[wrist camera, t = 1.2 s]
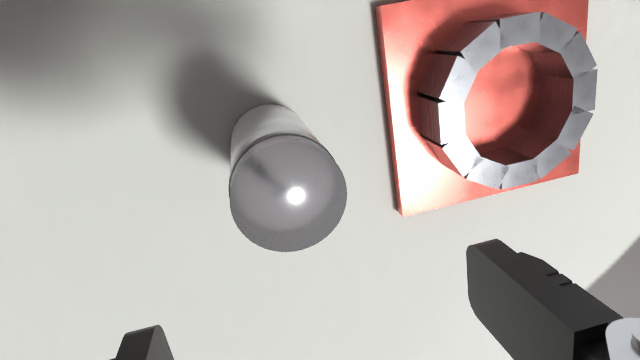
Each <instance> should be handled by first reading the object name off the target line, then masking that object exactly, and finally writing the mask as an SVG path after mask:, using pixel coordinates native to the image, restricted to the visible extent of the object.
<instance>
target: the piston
mask: <svg viewBox="0 0 640 360" xmlns="http://www.w3.org/2000/svg"><path fill="white" fill-rule="evenodd" d="M229 198H230V208H231V213H232V216H233V219H234V221H235V223H236V225H237V227H238V228H239V229H240V231H241V232H242V233H243V234H244V235H245V236H246V237H247V238H248V239H249V240H250V241H252V242H253V243H255V244H257V245H258V246H261V247H263V248H265V249H269V250H272V251H278V252H292V251H298V250H302V249H305V248H308V247H311V246H313V245H315V244H317V243H318V242H320V241H322V240H323V239H324V238H325V237H327V236H328V235H329V234H330V233H331V232H332V231H333V230H334V228H335V227H336V226H337V224H338V223H339V221H340V219H341V217H342V215H343V213H344V209H345V206H346V201H347V188H346V183H345V179H344V176H343V173H342V171H341V170H340V168H339V166H338V165H337V164H336V162H335V160H334V158H333V157H332V156H331V154H330V153H329V152H328V150H327V149H326V148H325V147H324V146H323V145H322V144H320V142H319V141H318V140H317V139H316V137H315V136H314V135H313V134H312V132H311V131H310V130H309V129H308V128H307V126H306V125H305V124H304V123H303V121H302V120H301V119H300V118H299V117H298V116H297V115H296V114H295V113H294V112H293V111H291V110H289V109H288V108H285V107H283V106H279V105H273V104H267V105H261V106H257V107H255V108H252V109H251V110H249V111H247V112H246V113H245V114H244V115H243V116H242V117H241V118H240V119H239V120H238V122H237V123H236V125H235V127H234V129H233V132H232V136H231V164H230V178H229Z"/></svg>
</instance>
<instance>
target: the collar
mask: <svg viewBox="0 0 640 360" xmlns="http://www.w3.org/2000/svg"><path fill="white" fill-rule="evenodd" d="M375 12H376V21H377V30H378V39H379V48H380V56H381V65H382V74H383V83H384V92H385V101H386V110H387V119H388V128H389V137H390V146H391V155H392V164H393V173H394V182H395V191H396V200H397V209H398V212H399V213H400V214H401V215H402V216H403V217H404V216H408V215H412V214H416V213H420V212H424V211H428V210H432V209H436V208H440V207H444V206H448V205H452V204H456V203H460V202H464V201H468V200H472V199H476V198H480V197H484V196H488V195H493V194H497V193H501V192H505V191H509V190H513V189H517V188H521V187H525V186H529V185H533V184H537V183H541V182H545V181H549V180H553V179H557V178H561V177H565V176H569V175H573V174H577V173H578V170H579V153H580V138H581V136H582V134H583V132H584V131H585V129H586V127H587V125H588V123H589V121H590V119H591V117H592V115H593V114H592V113H590V112H588V111H590V110H595V96H596V82H597V69H593V68H594V67H595V66H596V63H595V61H594V59H593V56H592V54H591V52H590V50H589V48H588V46H587V44H586V34H587V16H588V0H409V1H404V2H398V3H393V4H387V5H381V6H376V7H375Z"/></svg>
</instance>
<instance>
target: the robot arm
mask: <svg viewBox="0 0 640 360" xmlns="http://www.w3.org/2000/svg"><path fill="white" fill-rule="evenodd" d="M466 257H467V279H468V296H469V301H470V304H471V307H472V309H473V311H474V313H475V315H476V316H477V318H478V319H479V320H480V321H481V322H482V324H483V325H484V326H485V327H486V328H487V329H488V330H489V332H490V333H491V334H492V335H493V336H494V337H495V338H496V340H497V341H498V342H499V343H500V344H501V345H502V346H503V348H504V349H505V350H506V351H507V352H508V353H509V354H510V356H511V357H512V358H513V359H514V360H640V318H623V317H621V316H620V315H619V314H617V313H616V312H615V311H613V310H612V309H610V308H609V307H608V306H606V305H605V304H603V303H602V302H601V301H599V300H598V299H596V298H595V297H594V296H592V295H591V294H589V293H588V292H587V291H585V290H584V289H582V288H581V287H580V286H578V285H577V284H573V283H572V281H571V280H570V279H568V278H567V277H566V276H564V275H563V274H559V272H558V271H557V270H556V269H555V268H553V267H552V266H550V265H549V264H548V263H546V262H545V261H543V260H541V259H539V258H536V257H534V256H531V255H528V254H526V253H523V252H520V253H516V252H515V251H514V250H512V249H511V248H510V247H508V246H507V245H506V244H504V243H503V242H502V241H500V240H498V239H493V240H489V241H485V242H482V243H478V244H474V245H470V246H468V248H467V252H466ZM111 360H174V358H173V356H172V353H171V350H170V347H169V345H168V342H167V339H166V337H165V334H164V331H163V329H162V328H161V326H160V325H155V326H152V327H148V328H144V329H140V330H136V331H132V332H128V333H126V334H125V335H124V337H123V339H122V342H121V345H120V348H119V350H118V353H117V356H116V358H114V359H111Z"/></svg>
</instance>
